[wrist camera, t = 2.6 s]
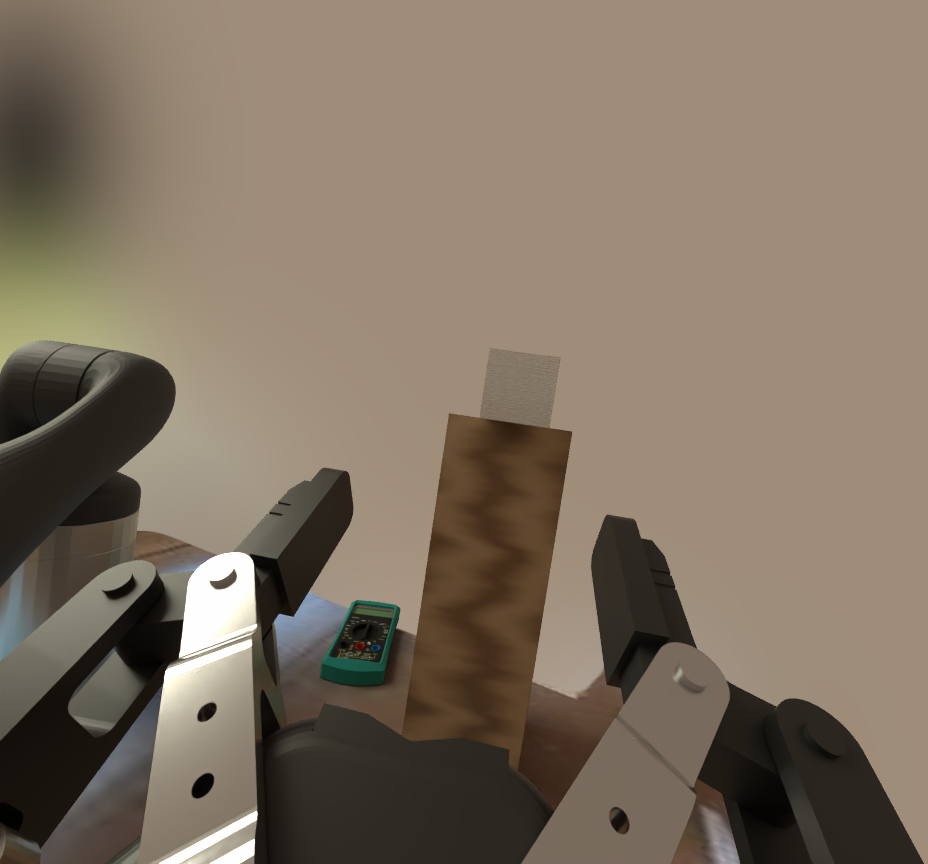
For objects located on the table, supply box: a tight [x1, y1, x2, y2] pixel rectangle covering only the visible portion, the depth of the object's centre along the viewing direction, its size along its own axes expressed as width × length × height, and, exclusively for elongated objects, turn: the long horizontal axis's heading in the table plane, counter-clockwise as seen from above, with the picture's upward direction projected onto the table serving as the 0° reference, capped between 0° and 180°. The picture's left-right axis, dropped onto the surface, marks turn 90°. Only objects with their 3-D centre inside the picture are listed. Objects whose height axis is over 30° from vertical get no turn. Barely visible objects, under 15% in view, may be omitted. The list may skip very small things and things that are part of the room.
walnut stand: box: [402, 413, 572, 770], centre depth 36 cm, size 10×10×32 cm
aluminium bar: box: [479, 349, 560, 428], centre depth 32 cm, size 4×22×4 cm, turn 175°
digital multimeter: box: [320, 600, 400, 686], centre depth 50 cm, size 7×15×3 cm, turn 2°
